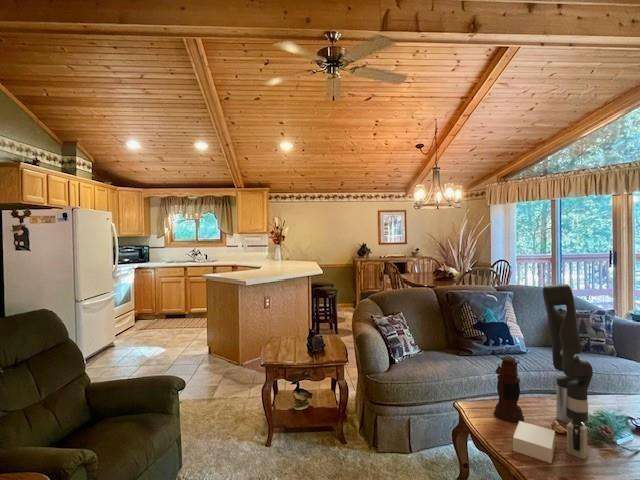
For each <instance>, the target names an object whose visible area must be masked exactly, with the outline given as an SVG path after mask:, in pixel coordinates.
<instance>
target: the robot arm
mask: <svg viewBox="0 0 640 480" xmlns="http://www.w3.org/2000/svg"><path fill="white" fill-rule="evenodd" d="M542 297H543V301H544V306H545V310H546V314H547V323H548V324H547V325H548V331H549V332H548V333H549V336H550V342H551V355H552V366H553V368H554V369H555V370H557V371H558V372H559V371H560V372H562V373H563V374H564V375H561V376H557V378H556V381H555V383H556V385H555V386H556V395H555V396H556V416H555V417H556V419H557V420H558V421H560V422H561V423H565V424H568V423H570V422H571V427H572V434H573V439H572V440H573V449H574V450H577V451H580V442H581V441H580V437H581V436H582V432H580V430H582V429H583V426H584V423H587V422H588V421H589V400H588V390H589V387H590V383H591V380H592V379H593V375H594V370H593V366H592V365H591V363H590V362H589V361H587V360H584V359H580V356H578V354H581V353H582V352H583V347H582V342H581V339H580V335H579V330H578V323H577V314H576V307H575V306H576V305H575V300H574V294H573V291H572V289H571V286H570V285H569V284H567V283H561V284H559V283H558V284H552V285H549V284H548V285H545V286H543V288H542ZM555 306H565V307H566V312H565V316H564V315H563V314H562V313H560V312H559V311H558V310H557V308H556V307H555ZM576 438H578V439H576Z"/></svg>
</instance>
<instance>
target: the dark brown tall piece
mask: <svg viewBox="0 0 640 480" xmlns="http://www.w3.org/2000/svg"><path fill="white" fill-rule="evenodd" d="M500 359H501V363H498V364H497V368H496V370H495V373H496V374H497V375H496V376H497V377H496V378H497V384H496V389H497V394H498V402H497V403H496V405H495V407H494V410H493V415H494V417H495V418H497V420H500V421H503V422H504V423H509V424H518V423H519V421H522V422H524V421H525V416H524V415H523V410H522V407H521V406H520V405H519V404H518V401H519V399H520V394H521V386H520V383H521V380H520V378H519V377H518V375H519V372H518V364H519V363H520V358H519V357H517V356H514V357H511V356H502V357H501V358H500ZM517 359H518V361H517Z"/></svg>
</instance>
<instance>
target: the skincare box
mask: <svg viewBox="0 0 640 480" xmlns="http://www.w3.org/2000/svg"><path fill="white" fill-rule="evenodd" d="M580 432H582V436H581V437H580V441H581V442H580V451H577V450H574V449H573V440H572V439H573V434H572V427H571V422H570V423H566V437H567V438H566V441H567V442H566V445H567V447H566V448H567V454H569V455H572V456H574V457H577V458H579V459H582V460H585V459H586V458H587V457H588V429H587V426H584V425H583V429H582V430H580ZM576 439H578V438H576Z"/></svg>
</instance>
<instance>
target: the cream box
mask: <svg viewBox="0 0 640 480" xmlns="http://www.w3.org/2000/svg"><path fill="white" fill-rule="evenodd" d="M512 436H513V437H512V451H513V452H515V453H519V454H521V455H525V456H527V457H531V458H534V459H537V460H540V461H543V462H546V461H547V462H546V463H549V464H552V463H553V462H552V461H553V456H554V453H553V452H555V447H556V430H553V429H549V428H546V427H542V426H539V425H536V424H532V423H529V422H524V421H523V422H522V421H519V423H517V426H516V429H515V431H514V434H513V435H512Z"/></svg>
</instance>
